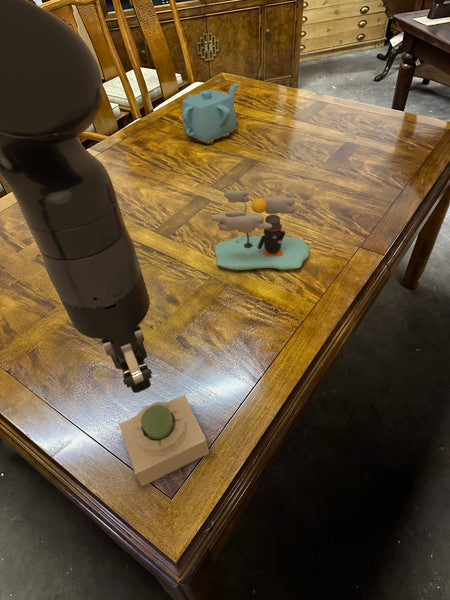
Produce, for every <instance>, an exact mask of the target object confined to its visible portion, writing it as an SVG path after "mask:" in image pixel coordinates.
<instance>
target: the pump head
mask: <svg viewBox="0 0 450 600" xmlns="http://www.w3.org/2000/svg"><path fill="white" fill-rule="evenodd" d="M141 424H142V427H143V429H144V431H145V433H146V435H147V436H148V437H149V438H151V439H154V440H160V439H163V438H165V437H167V436H168V435H169V434H170V433H171V432H172V430H173V427H174V421H173V418H172V415H171V412H170V410H169V409H168V408H167V407H165V406H162V405H155V406H152V407H150V408H148V409H147V410H146V411H145V412H144V414H143V416H142V419H141Z"/></svg>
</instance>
